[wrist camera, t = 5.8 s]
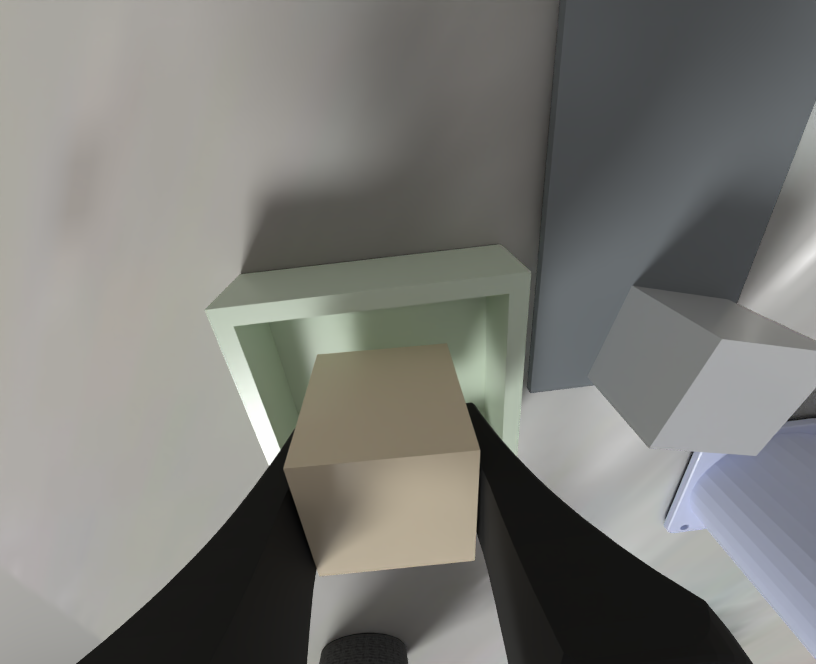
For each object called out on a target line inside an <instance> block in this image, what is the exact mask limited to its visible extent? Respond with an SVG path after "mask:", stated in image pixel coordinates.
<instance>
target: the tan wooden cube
mask: <svg viewBox="0 0 816 664" xmlns="http://www.w3.org/2000/svg"><path fill="white" fill-rule="evenodd" d="M479 467H480V448H479V444H478V441H477V438H476V435H475V431H474V428H473V425H472V422H471V419H470V415H469V412H468V409H467V406H466V403H465V399H464V396H463V393H462V390H461V387H460V383H459V380H458V377H457V374H456V371H455V367H454V364H453V361H452V358H451V354H450V351H449V348H448V345H447V343H445V344H433V345H422V346H410V347H398V348H387V349H375V350H364V351H352V352H340V353H329V354H317V357H316V360H315V363H314V367H313V370H312V373H311V377H310V380H309V384H308V387H307V390H306V394H305V397H304V400H303V404H302V407H301V410H300V414H299V417H298V421H297V424H296V427H295V431H294V434H293V437H292V441H291V444H290V447H289V451H288V454H287V458H286V461H285V464H284V468H283V470H284V473H285V476H286V479H287V482H288V484H289V487H290V490H291V493H292V496H293V499H294V502H295V505H296V508H297V511H298V514H299V517H300V520H301V523H302V526H303V529H304V532H305V535H306V538H307V541H308V544H309V547H310V550H311V553H312V556H313V559H314V562H315V565H316V568H317V571H318V574H319V576H329V575H338V574H348V573H358V572H368V571H378V570H388V569H397V568H407V567H417V566H427V565H437V564H447V563H456V562H466V561H475V546H476V526H477V506H478V486H479Z"/></svg>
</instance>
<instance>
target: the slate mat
mask: <svg viewBox="0 0 816 664" xmlns="http://www.w3.org/2000/svg"><path fill="white" fill-rule="evenodd" d="M815 101H816V0H560V6H559V18H558V29H557V41H556V53H555V65H554V77H553V88H552V100H551V112H550V124H549V135H548V147H547V159H546V171H545V183H544V194H543V206H542V218H541V230H540V241H539V253H538V265H537V277H536V288H535V300H534V312H533V324H532V336H531V347H530V359H529V371H528V383H527V388H528V390H529V392H530V393H536V392H544V391H552V390H560V389H568V388H576V387H584V386H592V385H594V384H593V383H592V382H591V381H590V379H589V378H588V377H587V376H588V374H589V372H590V370H591V368H592V366H593V364H594V362H595V360H596V358H597V356H598V354H599V352H600V350H601V348H602V346H603V344H604V342H605V340H606V338H607V336H608V334H609V332H610V329H611V327H612V325H613V323H614V321H615V319H616V317H617V315H618V313H619V311H620V309H621V307H622V305H623V303H624V301H625V299H626V297H627V295H628V293H629V291H630V289H631V287H632V286H638V287H645V288H652V289H659V290H666V291H673V292H680V293H687V294H694V295H701V296H708V297H715V298H722V299H728V300H730V301H733V302H735V303H737V302H738V299H739V297H740V294H741V291H742V289H743V286H744V284H745V281H746V279H747V276H748V273H749V271H750V268H751V266H752V263H753V261H754V258H755V255H756V253H757V250H758V248H759V245H760V243H761V240H762V237H763V235H764V232H765V230H766V227H767V225H768V222H769V219H770V217H771V214H772V212H773V209H774V207H775V204H776V201H777V199H778V196H779V194H780V191H781V189H782V186H783V183H784V181H785V178H786V176H787V173H788V171H789V168H790V165H791V163H792V160H793V158H794V155H795V153H796V150H797V147H798V145H799V142H800V140H801V137H802V135H803V132H804V130H805V127H806V124H807V122H808V119H809V117H810V114H811V112H812V109H813V106H814V104H815Z"/></svg>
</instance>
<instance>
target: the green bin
mask: <svg viewBox="0 0 816 664" xmlns="http://www.w3.org/2000/svg"><path fill="white" fill-rule="evenodd" d="M530 283H531V271H530V270H529V269H528V268H527V267H526V266H524V265H523V264H522V263H521V262H520V261H519V260H518V259H517V258H516V257H514V256H513V255H512V254H511V253H510V252H509V251H508V250H507V249H505V248H504V247H503V246H502V245H501V244H498V245H489V246H480V247H472V248H463V249H455V250H446V251H437V252H429V253H420V254H411V255H403V256H394V257H385V258H377V259H368V260H359V261H351V262H342V263H334V264H325V265H316V266H308V267H299V268H290V269H282V270H273V271H264V272H256V273H247V274H240V275H239V276H238V277H237V278H236V279H235V280H234V281H233V282H232V283H231V284H230V285H229V286H228V287H227V288H226V289H225V290H224V291H223V292H222V293H221V294H220V295H219V296H218V297H217V298H216V299H215V300H214V301H213V302H212V303H211V304H210V305H209V306H208V307H207V308H206V309H205V312H206V315H207V317H208V320H209V322H210V324H211V327H212V329H213V332H214V334H215V336H216V339H217V341H218V344H219V346H220V349H221V351H222V353H223V356H224V358H225V361H226V363H227V365H228V368H229V370H230V373H231V375H232V377H233V380H234V382H235V385H236V387H237V390H238V392H239V394H240V397H241V399H242V402H243V404H244V406H245V409H246V411H247V414H248V416H249V419H250V421H251V423H252V426H253V428H254V431H255V433H256V435H257V438H258V440H259V443H260V445H261V447H262V450H263V452H264V455H265V457H266V460H267V462H268V464H269V466H270V464H271V463H272V461H273V460H274V458H275V457H276V456H277V454H278V453H279V451H280V450H281V448H282V447H283V445H284V444H285V442H286V441H287V439H288V438H289V436H290V435H291V433H292V432H293V430H294V429H295V427H296V424H297V421H298V417H299V414H300V410H301V407H302V404H303V400H304V397H305V394H306V390H307V387H308V384H309V380H310V377H311V373H312V370H313V367H314V363H315V360H316V357H317V354H329V353H340V352H352V351H364V350H375V349H387V348H398V347H410V346H422V345H433V344H445V343H447V345H448V348H449V351H450V354H451V358H452V361H453V364H454V367H455V371H456V374H457V377H458V380H459V383H460V387H461V390H462V393H463V396H464V399H465V403H470V402H472V403H473V404H475V405H476V407H477V408H478V410H479V411H480V413H481V414H482V415H483V417H484V418H485V420H486V421H487V422H488V423H489V425H490V426H491V427H492V428H493V430H494V431H495V432H496V433H497V435H498V436H499V437H500V438H501V439H502V441H503V442H504V443H505V444H506V445H507V446H508V447H509V449H510V450H511V451H512V452H513V453H514V454H515V455H516V456H517V452H518V439H519V426H520V413H521V400H522V387H523V374H524V361H525V348H526V335H527V322H528V309H529V296H530Z"/></svg>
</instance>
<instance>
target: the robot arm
mask: <svg viewBox="0 0 816 664" xmlns="http://www.w3.org/2000/svg"><path fill="white" fill-rule="evenodd" d="M466 406H467V409H468V412H469V415H470V419H471V422H472V425H473V428H474V431H475V435H476V438H477V441H478V444H479V448H480V467H479V486H478V506H477V526H476V532H477V535H478V538H479V542H480V545H481V548H482V551H483V554H484V558H485V562H486V565H487V569H488V573H489V577H490V582H491V586H492V591H493V595H494V600H495V604H496V609H497V613H498V618H499V622H500V627H501V632H502V636H503V641H504V645H505V650H506V655H507V659H508V664H753V663H752V662H751V660H750V659H749V657H748V656H747V655H746V653H745V652H744V650H743V649H742V648H741V646H740V645H739V643H738V642H737V640H736V639H735V638H734V636H733V635H732V634H731V632H730V631H729V630H728V628H727V627H726V626H725V624H724V623H723V622H722V621H721V620H720V618H719V617H718V616H717V615H716V614H715V613H714V611H713V610H712V609H711V608H710V607H709V605H708V604H707V603H706V601H704V600H703V599H701V598H699V597H698V596H696V595H695V594H693V593H691V592H690V591H688V590H686V589H685V588H683V587H682V586H680V585H678V584H677V583H675V582H674V581H672V580H670V579H669V578H667V577H665V576H664V575H662V574H661V573H659V572H657V571H656V570H654V569H653V568H651V567H650V566H648V565H647V564H645V563H644V562H643V561H641V560H640V559H638V558H637V557H635V556H634V555H632V554H631V553H629V552H628V551H627V550H625V549H624V548H622V547H621V546H619V545H618V544H617V543H616V542H614V541H613V540H612V539H610V538H609V537H608V536H606V535H605V534H604V533H602V532H601V531H600V530H598V529H597V528H596V527H594V526H593V525H592V524H590V523H589V522H588V521H586V520H585V519H584V518H582V517H581V516H580V515H579V514H578V513H576V512H575V511H574V510H573V509H572V508H570V507H569V506H568V505H567V504H566V503H564V502H563V501H562V500H561V499H560V498H559V497H558V496H557V495H555V494H554V493H553V492H552V491H551V490H550V489H549V488H548V487H547V486H545V485H544V484H543V483H542V482H541V481H540V480H539V479H538V478H537V477H536V476H535V475H534V474H533V473H532V472H531V471H530V470H529V469H528V468H527V467H526V466H525V465H524V464H523V463H522V462H521V461H520V460H519V458H518V457H517V456H516V455H515V454H514V453H513V452H512V451H511V450H510V449H509V447H508V446H507V445H506V444H505V443H504V442H503V441H502V439H501V438H500V437H499V436H498V435H497V433H496V432H495V431H494V430H493V428H492V427H491V426H490V425H489V423H488V422H487V421H486V420H485V418H484V417H483V415H482V414H481V413H480V411H479V410H478V408H477V407H476V405H475V404H473V403H472V402H470V403H466ZM294 431H295V429H294V430H293V432H292V433H291V435H290V436H289V438H288V439H287V441H286V442H285V444H284V445H283V447H282V448H281V450H280V451H279V453H278V454H277V456H276V457H275V458H274V460H273V461H272V463H271V464H270V466H269V467H268V468H267V470H266V471H265V473H264V474H263V475H262V477H261V478H260V480H259V481H258V482H257V484H256V485H255V486H254V488H253V489H252V490H251V491H250V493H249V494H248V495H247V497H246V498H245V499H244V500H243V502H242V503H241V504H240V505H239V507H238V508H237V509H236V511H235V512H234V513H233V514H232V515H231V517H230V518H229V519H228V520H227V521H226V523H225V524H224V525H223V526H222V527H221V528H220V530H219V531H218V532H217V533H216V534H215V535H214V536H213V537H212V538H211V540H210V541H209V542H208V543H207V544H206V545H205V546H204V547H203V548H202V549H201V550H200V552H199V553H198V554H197V555H196V556H195V557H194V558H193V559H192V560H191V561H190V562H189V563H188V564H187V565H186V566H185V567H184V568H183V569H182V570H181V571H180V572H179V573H178V574H177V575H176V576H175V577H174V578H173V579H172V580H171V581H170V582H169V583H168V584H167V585H166V586H165V587H164V588H163V589H162V590H161V591H160V592H158V593H157V594H156V595H155V596H154V597H153V598H152V599H151V600H150V601H149V602H148V603H147V604H145V605H144V606H143V607H142V608H141V609H140V610H139V611H138V612H137V613H135V614H134V615H133V616H132V617H131V618H130V619H129V620H128V621H126V622H125V623H124V624H123V625H122V626H121V627H120V628H119V629H117V630H116V631H115V632H114V633H113V634H112V635H110V636H109V637H108V638H107V639H106V640H105V641H103V642H102V643H101V644H100V645H99V646H97V647H96V648H95V649H94V650H92V651H91V652H90V653H89V654H87V655H86V656H85V657H84V658H83V659H81V660H80V661H79V662H78V663H76V664H307V655H308V642H309V630H310V619H311V608H312V597H313V589H314V582H315V575H316V569H317V568H316V565H315V562H314V559H313V556H312V553H311V550H310V547H309V544H308V541H307V538H306V535H305V532H304V529H303V526H302V523H301V520H300V517H299V514H298V511H297V508H296V505H295V502H294V499H293V496H292V493H291V490H290V487H289V484H288V482H287V479H286V476H285V473H284V470H283V468H284V464H285V461H286V458H287V454H288V451H289V447H290V444H291V441H292V437H293V434H294ZM664 527H665V528H666V530H667V531H668V532H670V533H678V532H686V531H693V530H701V529H707V530H708V531H709V532H710V533H711V535H712V536H713V537H714V538H715V539H716V541H717V542H718V543H719V544H720V545H721V547H722V548H723V549H724V550H725V551H726V553H727V554H728V555H729V556H730V557H731V559H732V560H733V561H734V562H735V563H736V565H737V566H738V567H739V568H740V569H741V571H742V572H743V573H744V574H745V575H746V577H747V578H748V579H749V580H750V581H751V583H752V584H753V585H754V586H755V587H756V589H757V590H758V591H759V592H760V593H761V595H762V596H763V597H764V598H765V599H766V601H767V602H768V603H769V604H770V605H771V607H772V608H773V609H774V610H775V611H776V613H777V614H778V615H779V616H780V617H781V619H782V620H783V621H784V622H785V623H786V625H787V626H788V627H789V628H790V629H791V631H792V632H793V633H794V634H795V635H796V637H797V638H798V639H799V640H800V641H801V643H802V644H803V645H804V646H805V647H806V649H807V650H808V651H809V652H810V653H811V654H812V656H813V657H814V658H815V659H816V418H810V419H802V420H795V421H787V422H786V423H785V424H784V425H783V426H782V427H781V428H780V429H779V431H778V432H777V433H776V434H775V435H774V436H773V437H772V439H771V440H770V441H769V442H768V443H767V444H766V445H765V447H764V448H763V449H762V450H761V451H760V452H759V453H758V455H757V456H750V455H736V454H722V453H708V452H694V453H693V455H692V458H691V460H690V462H689V465H688V467H687V470H686V472H685V474H684V477H683V479H682V481H681V484H680V486H679V489H678V491H677V493H676V496H675V498H674V501H673V503H672V505H671V508H670V510H669V513H668V515H667V517H666V520H665V522H664Z"/></svg>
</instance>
